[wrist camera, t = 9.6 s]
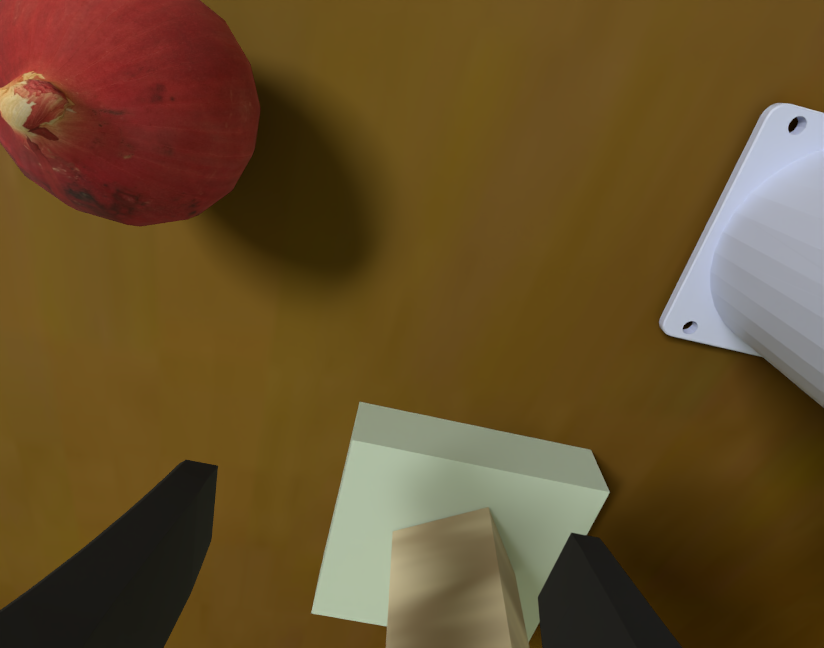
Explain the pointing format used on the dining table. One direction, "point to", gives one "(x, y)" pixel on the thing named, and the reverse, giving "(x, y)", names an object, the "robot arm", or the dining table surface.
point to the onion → (126, 104)
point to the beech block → (453, 586)
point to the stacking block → (450, 503)
